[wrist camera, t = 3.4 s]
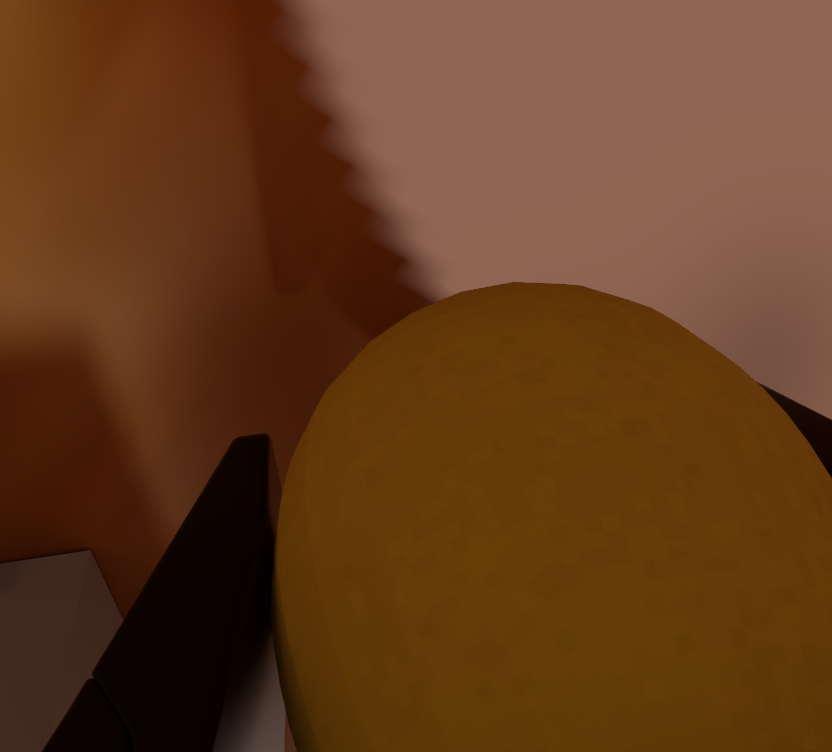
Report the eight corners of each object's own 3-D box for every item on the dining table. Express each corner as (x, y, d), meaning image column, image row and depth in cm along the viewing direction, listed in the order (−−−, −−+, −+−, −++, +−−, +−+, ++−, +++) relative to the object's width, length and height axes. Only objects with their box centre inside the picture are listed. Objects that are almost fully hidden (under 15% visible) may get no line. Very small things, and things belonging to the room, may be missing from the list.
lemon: (427, 72, 8) (998, 981, 2) (722, 295, 11) (1364, 977, 5) (192, 410, 10) (99, 1324, 4) (483, 525, 13) (691, 1186, 7)
